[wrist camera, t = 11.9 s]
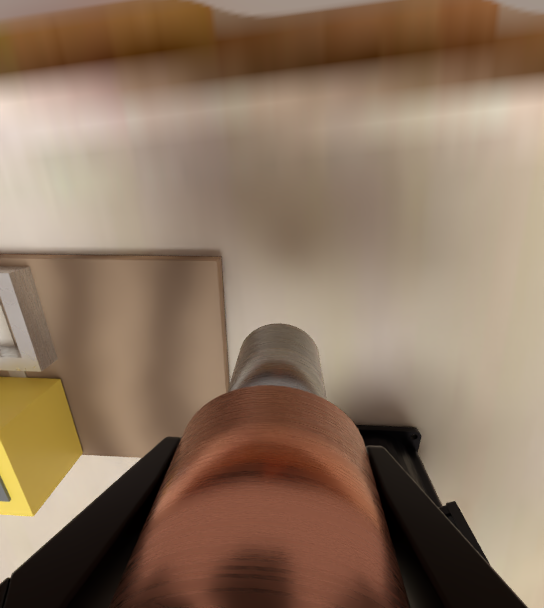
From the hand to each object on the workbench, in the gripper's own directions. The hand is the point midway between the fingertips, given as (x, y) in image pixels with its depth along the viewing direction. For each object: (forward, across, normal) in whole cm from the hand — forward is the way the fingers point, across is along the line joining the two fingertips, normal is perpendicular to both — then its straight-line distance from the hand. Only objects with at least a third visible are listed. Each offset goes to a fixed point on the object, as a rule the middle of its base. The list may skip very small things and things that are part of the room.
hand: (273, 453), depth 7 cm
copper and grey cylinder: (+4, 0, 0) cm, 4 cm away
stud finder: (+12, +19, +10) cm, 24 cm away
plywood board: (+13, +14, +6) cm, 20 cm away
